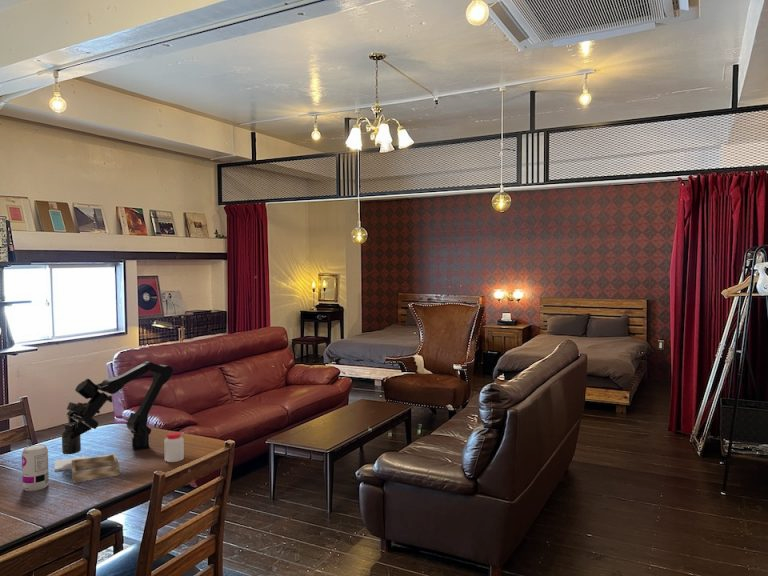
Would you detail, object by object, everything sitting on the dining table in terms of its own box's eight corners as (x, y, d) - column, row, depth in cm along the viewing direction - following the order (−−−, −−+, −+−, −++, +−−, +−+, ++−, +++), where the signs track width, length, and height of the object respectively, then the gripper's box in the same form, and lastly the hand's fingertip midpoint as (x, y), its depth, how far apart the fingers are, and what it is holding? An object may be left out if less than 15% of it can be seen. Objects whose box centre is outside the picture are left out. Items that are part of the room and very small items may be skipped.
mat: (86, 458, 243) (86, 455, 243) (88, 466, 233) (88, 463, 233) (54, 462, 237) (54, 460, 237) (54, 471, 227) (54, 469, 227)
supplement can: (21, 493, 205) (20, 452, 204) (24, 485, 212) (23, 446, 211) (47, 489, 208) (46, 448, 208) (49, 482, 216) (48, 442, 215)
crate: (115, 463, 236) (115, 453, 236) (119, 475, 222) (119, 465, 222) (71, 470, 228) (71, 460, 228) (73, 483, 214) (72, 472, 214)
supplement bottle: (84, 451, 236) (83, 422, 235) (66, 456, 230) (65, 426, 230) (76, 448, 240) (75, 420, 239) (59, 452, 235) (58, 424, 234)
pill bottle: (187, 457, 244) (187, 431, 243) (175, 463, 236) (175, 436, 236) (172, 455, 246) (172, 430, 246) (160, 461, 239) (160, 435, 239)
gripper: (70, 391, 243) (43, 422, 235) (89, 397, 231) (61, 430, 223) (90, 406, 250) (64, 436, 242) (109, 412, 238) (82, 445, 230)
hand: (67, 436), depth 234 cm, fingers closed on supplement bottle, 7 cm apart
